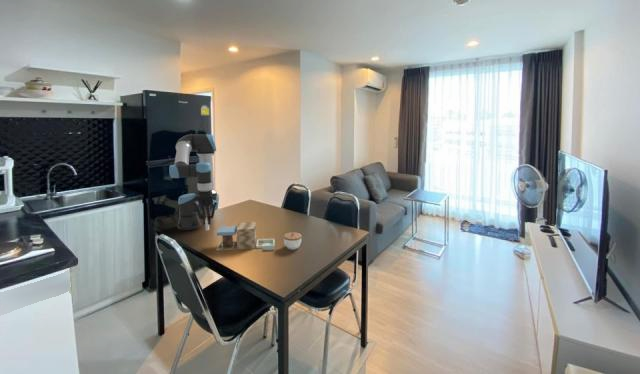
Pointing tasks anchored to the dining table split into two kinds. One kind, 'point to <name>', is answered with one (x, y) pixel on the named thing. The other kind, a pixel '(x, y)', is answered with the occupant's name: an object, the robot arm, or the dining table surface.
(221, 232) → the slide cover
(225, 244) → the treat block
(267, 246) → the tray
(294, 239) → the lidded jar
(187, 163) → the robot arm
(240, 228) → the brown patterned stepped stand
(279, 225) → the dining table surface
